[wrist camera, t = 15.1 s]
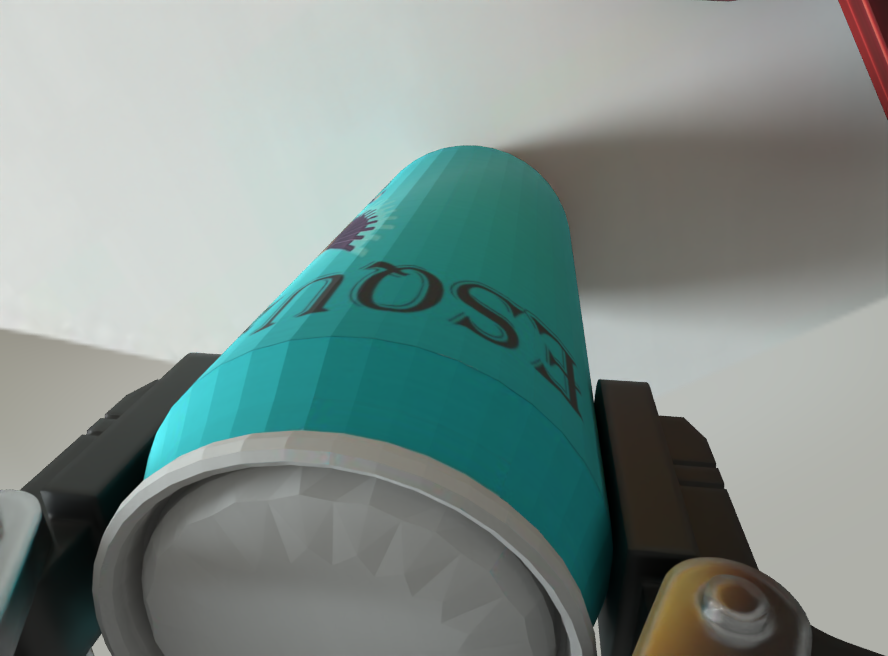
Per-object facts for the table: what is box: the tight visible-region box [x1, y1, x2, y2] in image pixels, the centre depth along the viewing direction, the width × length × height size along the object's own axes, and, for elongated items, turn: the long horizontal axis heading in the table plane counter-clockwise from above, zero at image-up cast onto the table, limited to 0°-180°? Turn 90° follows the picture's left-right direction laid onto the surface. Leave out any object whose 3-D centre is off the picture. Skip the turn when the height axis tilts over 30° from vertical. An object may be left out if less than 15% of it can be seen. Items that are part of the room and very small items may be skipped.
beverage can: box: [92, 146, 613, 656], centre depth 13 cm, size 6×6×15 cm
